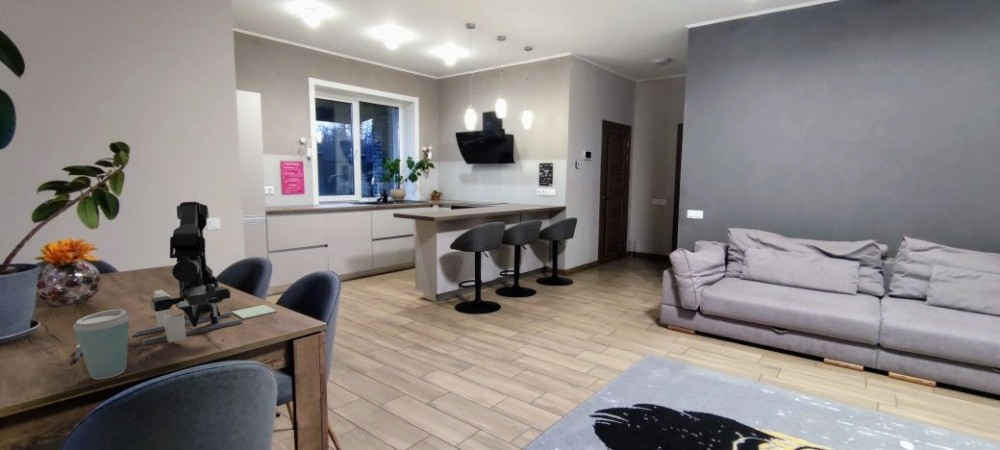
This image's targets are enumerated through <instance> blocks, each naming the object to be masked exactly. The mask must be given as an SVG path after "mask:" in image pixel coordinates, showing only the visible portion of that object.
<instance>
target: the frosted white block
mask: <svg viewBox="0 0 1000 450" xmlns="http://www.w3.org/2000/svg"><path fill="white" fill-rule="evenodd" d="M153 293H154V298H157V297H163V296H168V297H169V298H172V297H171V295H170V294H168V293H167V292H166V291H164V290H163V289H159V290H154V291H153ZM172 307H173V306H172ZM172 307H171V308H170V309H168V310H163V311H155V314H156V323H157V326H158V327H160V326H165V330H164V335H166V336H167V340H166V341H167V342H168V343H173V342H179V341H183V340H187V335H186V332H185V330H186V326H185V321H186V320H185V315H184V314H183V313H182V312H180V313H175V314H173V308H172Z"/></svg>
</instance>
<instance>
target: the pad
mask: <svg viewBox="0 0 1000 450" xmlns="http://www.w3.org/2000/svg"><path fill="white" fill-rule="evenodd" d="M231 312H232V313H231V314H233V315H235V316H237V317H238V318H239V319H242V320H248V319H251V318H257V317H261V316H265V315H271V314H274V313H277V312H278V311H277V310H276V309H274V308H272V307H270V306H269V305H266V304H263V305H258V306H252V307H248V308H242V309H239V310H232V311H231Z"/></svg>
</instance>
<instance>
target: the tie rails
mask: <svg viewBox="0 0 1000 450" xmlns="http://www.w3.org/2000/svg"><path fill="white" fill-rule="evenodd" d="M220 314H221V315H220V318H221V319H224V318H229V317H231V316H232V313H231V312H230V311H226V312H220ZM204 322H210V315H208V316H202V317H199V320H198V323H197V324H201V323H204ZM242 323H243V319H242V318H237V319H232V320H227V321H220V322H219V323H217V324H212V323H211V325H210V324H207V325H204V326H199V327H193V328H191V329H185V332H186V336H190V335H195V334H199V333H205V332H207V331H213V330H217V329H221V328H226V327H230V326H231V327H232V326H235V325H240V324H242ZM186 326H192V325H191V323H190V321H189V319H186V320H185V327H186ZM162 331H165V326H160V327H158V325H157V326H153V327H148V328H143V329H138V330H134V335H135V337H138V336H142V335H148V334H153V333H157V332H162ZM141 341H142V345H143V346H145V345H150V344H154V343H158V342H163V341H167V336H166V334H162V335H157V336H154V337H153V336H152V337H148V338H144V339H141Z"/></svg>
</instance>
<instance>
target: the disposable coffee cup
mask: <svg viewBox="0 0 1000 450" xmlns="http://www.w3.org/2000/svg"><path fill="white" fill-rule="evenodd" d="M130 316H131V315H130V314H128V313H127V310H126V309H108V310H104V311H99V312H95V313H91V314H89V315H85V316H84V317H82V318H79V319H77V321H76V322H75V323H74V324H73V326H72V331H74V334H75V336H76V337H75V338H76V340H77V342H78V344H79V345H80V348H81V351H82V353H81V355H82V357H83V360H84V362H85V363H84V364H85V365H86V367H87V371H88V374H89V376H90V377H91V379H93V380H96V381H97V380H106V379H110V378H114V377H116V376H120V375H121V374H123V373H125V372H126V368H127V361H128V360H127V359H128V346H129V345H128V344H129V328H130V327H129V326H130V324H129V323H130V321H131V317H130Z"/></svg>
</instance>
